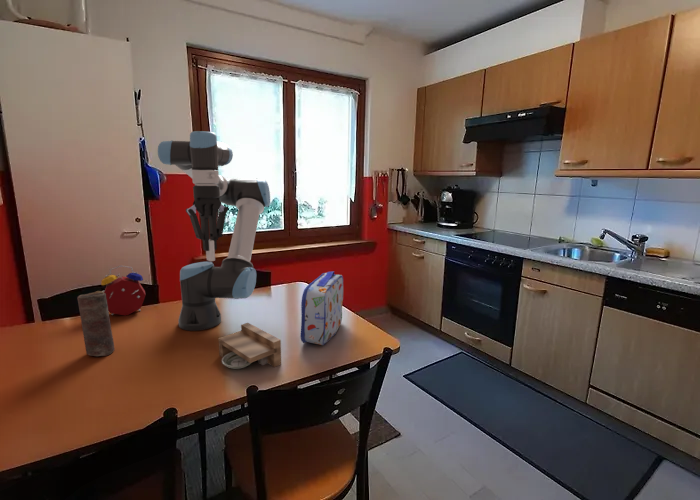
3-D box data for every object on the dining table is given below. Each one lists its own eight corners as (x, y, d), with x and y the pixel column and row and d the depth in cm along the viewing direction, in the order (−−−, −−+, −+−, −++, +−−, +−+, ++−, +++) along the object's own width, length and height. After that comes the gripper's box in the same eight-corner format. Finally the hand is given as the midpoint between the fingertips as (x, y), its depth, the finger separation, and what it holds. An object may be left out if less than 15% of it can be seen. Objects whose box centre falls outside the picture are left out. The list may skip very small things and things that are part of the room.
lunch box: (320, 317, 148) (320, 264, 143) (345, 320, 146) (346, 266, 141) (297, 349, 121) (296, 285, 117) (327, 352, 119) (327, 288, 115)
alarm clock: (146, 307, 155) (141, 261, 151) (147, 314, 148) (142, 266, 144) (104, 313, 147) (98, 265, 143) (103, 321, 140) (97, 271, 136)
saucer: (224, 376, 105) (223, 368, 104) (220, 360, 113) (219, 353, 113) (258, 369, 109) (257, 361, 108) (252, 354, 117) (251, 347, 117)
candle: (83, 361, 111) (74, 298, 107) (87, 350, 118) (79, 291, 114) (113, 355, 115) (105, 294, 111) (115, 345, 121) (108, 287, 117)
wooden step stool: (219, 355, 116) (218, 332, 114) (248, 344, 123) (247, 322, 122) (251, 377, 104) (249, 351, 102) (281, 364, 111) (280, 339, 110)
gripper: (190, 185, 104) (196, 265, 109) (232, 185, 114) (235, 259, 118) (179, 184, 109) (185, 261, 114) (220, 184, 119) (224, 255, 123)
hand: (210, 260), depth 116 cm, fingers closed
